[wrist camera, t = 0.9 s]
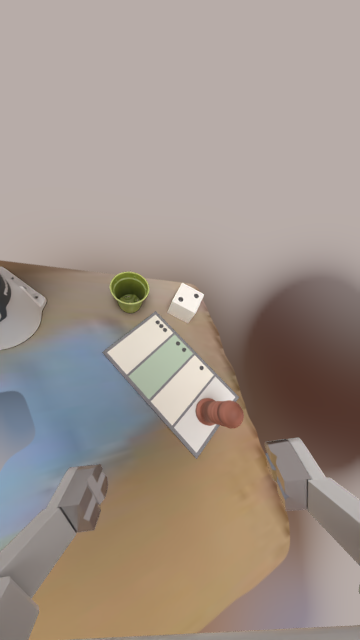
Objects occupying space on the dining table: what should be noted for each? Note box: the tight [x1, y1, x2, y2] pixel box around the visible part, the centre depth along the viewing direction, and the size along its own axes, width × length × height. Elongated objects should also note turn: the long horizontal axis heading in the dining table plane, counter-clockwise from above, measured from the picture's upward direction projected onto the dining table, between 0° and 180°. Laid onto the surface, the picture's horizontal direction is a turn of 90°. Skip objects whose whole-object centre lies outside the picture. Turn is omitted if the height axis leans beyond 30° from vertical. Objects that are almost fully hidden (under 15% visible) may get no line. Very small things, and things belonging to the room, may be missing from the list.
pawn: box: [195, 398, 244, 428], centre depth 40 cm, size 6×6×14 cm
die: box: [167, 283, 204, 323], centre depth 53 cm, size 7×7×7 cm
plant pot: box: [110, 272, 149, 313], centre depth 49 cm, size 9×9×9 cm
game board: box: [102, 311, 239, 459], centre depth 48 cm, size 33×18×1 cm, turn 46°
